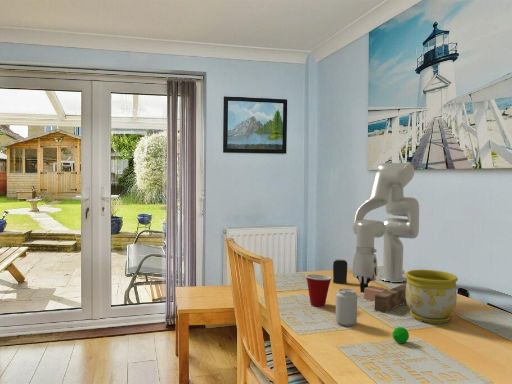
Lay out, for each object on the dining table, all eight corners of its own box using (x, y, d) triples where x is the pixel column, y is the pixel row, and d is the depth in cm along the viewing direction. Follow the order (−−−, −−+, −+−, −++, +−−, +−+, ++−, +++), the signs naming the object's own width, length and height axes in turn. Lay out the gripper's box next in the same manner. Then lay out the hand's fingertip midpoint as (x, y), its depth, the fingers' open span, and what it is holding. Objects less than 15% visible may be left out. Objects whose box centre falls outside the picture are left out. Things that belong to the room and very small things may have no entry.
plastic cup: (335, 303, 181) (336, 274, 180) (324, 310, 172) (325, 280, 171) (311, 299, 187) (312, 271, 186) (300, 305, 178) (300, 276, 177)
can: (344, 328, 152) (345, 294, 152) (331, 321, 159) (331, 288, 159) (361, 324, 156) (361, 291, 155) (347, 318, 163) (348, 286, 162)
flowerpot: (396, 317, 164) (397, 274, 164) (416, 307, 177) (417, 267, 177) (445, 330, 152) (447, 283, 151) (462, 318, 165) (464, 274, 164)
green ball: (399, 346, 137) (400, 331, 137) (389, 340, 141) (389, 326, 141) (412, 344, 139) (412, 329, 139) (401, 338, 143) (401, 324, 143)
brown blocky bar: (405, 296, 193) (406, 283, 193) (414, 298, 190) (415, 284, 190) (374, 310, 173) (375, 295, 172) (384, 312, 170) (384, 297, 170)
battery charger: (346, 281, 218) (347, 259, 217) (347, 283, 214) (347, 260, 214) (332, 281, 219) (332, 258, 218) (332, 283, 215) (333, 259, 214)
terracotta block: (371, 297, 192) (371, 285, 192) (388, 301, 186) (388, 289, 186) (364, 299, 188) (364, 288, 187) (381, 303, 182) (381, 292, 182)
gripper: (385, 251, 188) (383, 293, 189) (354, 247, 199) (353, 287, 199) (376, 253, 183) (375, 297, 184) (345, 249, 193) (344, 290, 194)
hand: (363, 292), depth 191 cm, fingers closed
